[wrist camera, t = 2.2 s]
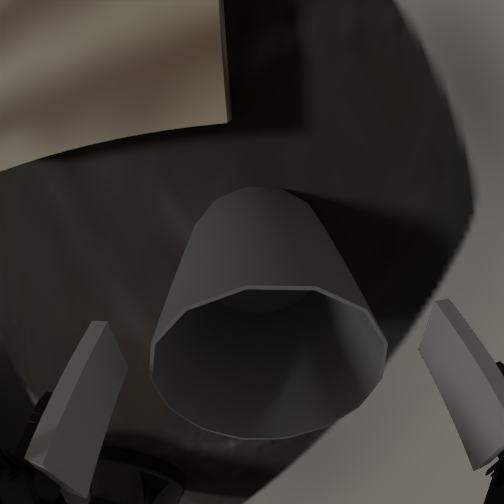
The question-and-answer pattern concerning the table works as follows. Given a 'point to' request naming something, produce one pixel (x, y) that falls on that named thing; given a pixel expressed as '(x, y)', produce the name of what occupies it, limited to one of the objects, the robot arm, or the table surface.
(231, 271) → the cup
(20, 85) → the oak stand
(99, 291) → the table surface
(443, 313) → the robot arm
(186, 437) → the table surface
